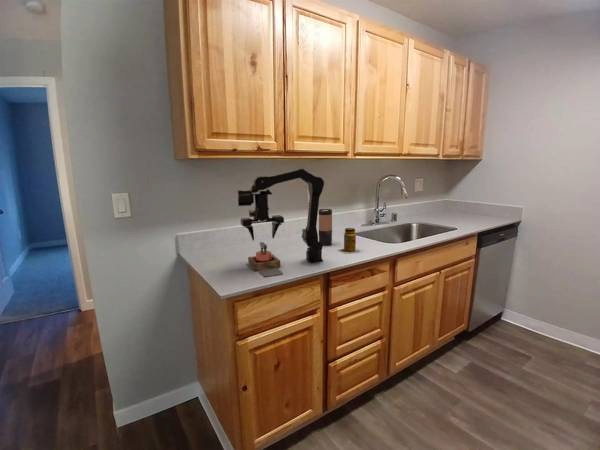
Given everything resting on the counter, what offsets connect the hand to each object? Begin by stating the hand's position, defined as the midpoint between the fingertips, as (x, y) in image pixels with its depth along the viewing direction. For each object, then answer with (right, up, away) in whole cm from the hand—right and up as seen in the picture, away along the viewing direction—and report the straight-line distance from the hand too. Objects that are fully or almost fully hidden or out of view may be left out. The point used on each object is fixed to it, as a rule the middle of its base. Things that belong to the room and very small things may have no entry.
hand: (263, 239), depth 141 cm
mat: (+4, -14, -8) cm, 16 cm away
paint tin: (0, -12, +2) cm, 12 cm away
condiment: (+42, -7, +24) cm, 49 cm away
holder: (0, -12, +2) cm, 12 cm away
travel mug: (+31, -5, +38) cm, 49 cm away
